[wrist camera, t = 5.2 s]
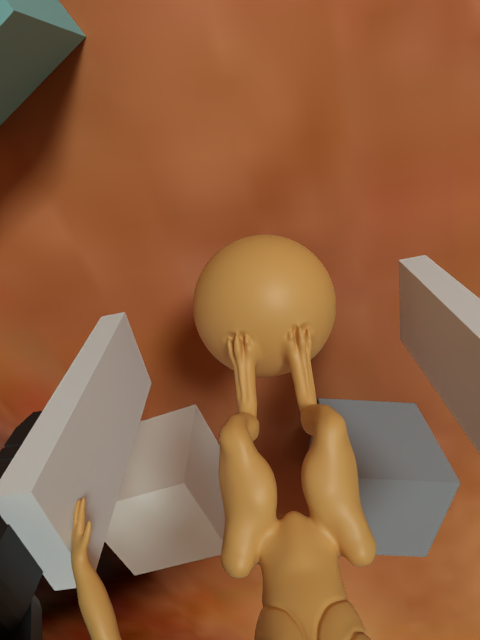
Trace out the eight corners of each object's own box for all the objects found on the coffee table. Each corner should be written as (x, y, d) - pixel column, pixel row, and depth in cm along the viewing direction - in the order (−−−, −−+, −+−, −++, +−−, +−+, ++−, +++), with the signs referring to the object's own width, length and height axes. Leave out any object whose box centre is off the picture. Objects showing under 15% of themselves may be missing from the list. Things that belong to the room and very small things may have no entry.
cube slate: (304, 466, 23) (319, 552, 19) (318, 397, 21) (338, 477, 17) (391, 470, 24) (426, 556, 19) (415, 402, 21) (460, 483, 17)
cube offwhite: (154, 488, 24) (134, 575, 20) (111, 429, 22) (78, 512, 18) (232, 467, 23) (230, 552, 19) (195, 403, 21) (184, 482, 17)
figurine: (390, 200, 12) (1372, 814, 2) (384, 366, 15) (740, 989, 5) (118, 237, 13) (-460, 926, 2) (161, 392, 16) (7, 1021, 5)
